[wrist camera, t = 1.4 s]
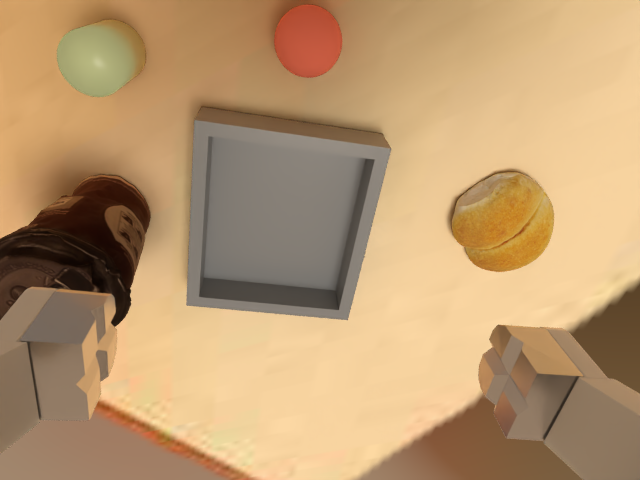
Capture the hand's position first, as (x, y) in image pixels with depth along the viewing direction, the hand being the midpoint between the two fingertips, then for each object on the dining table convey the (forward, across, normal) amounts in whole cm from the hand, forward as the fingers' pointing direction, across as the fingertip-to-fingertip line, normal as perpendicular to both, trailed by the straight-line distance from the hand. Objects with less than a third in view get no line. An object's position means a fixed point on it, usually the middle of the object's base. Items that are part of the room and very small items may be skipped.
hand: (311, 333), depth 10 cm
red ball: (+26, -1, -3) cm, 26 cm away
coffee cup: (+29, +13, +12) cm, 34 cm away
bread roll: (+29, -20, +9) cm, 36 cm away
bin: (+29, -1, +11) cm, 31 cm away
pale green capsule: (+29, +12, -1) cm, 31 cm away
